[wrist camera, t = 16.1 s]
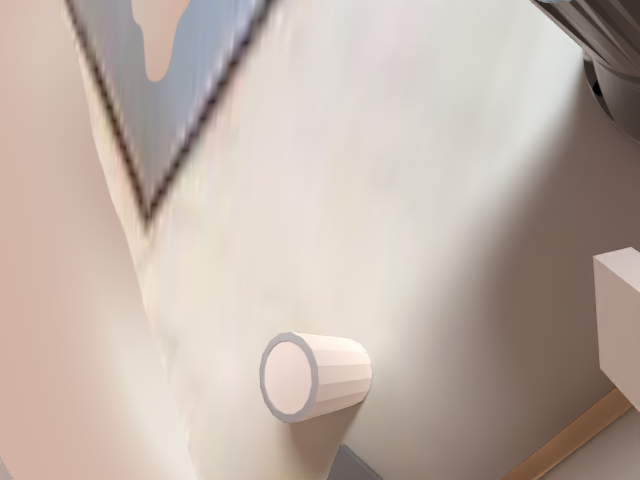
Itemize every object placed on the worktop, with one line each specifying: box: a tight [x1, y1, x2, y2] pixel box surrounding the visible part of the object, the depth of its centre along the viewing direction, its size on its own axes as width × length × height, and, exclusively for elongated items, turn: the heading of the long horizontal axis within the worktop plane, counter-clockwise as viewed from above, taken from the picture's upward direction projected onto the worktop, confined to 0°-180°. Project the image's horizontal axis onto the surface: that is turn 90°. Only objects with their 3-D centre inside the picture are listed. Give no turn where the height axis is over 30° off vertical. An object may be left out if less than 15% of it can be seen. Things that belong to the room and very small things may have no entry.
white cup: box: [260, 332, 372, 423], centre depth 45 cm, size 7×7×7 cm
